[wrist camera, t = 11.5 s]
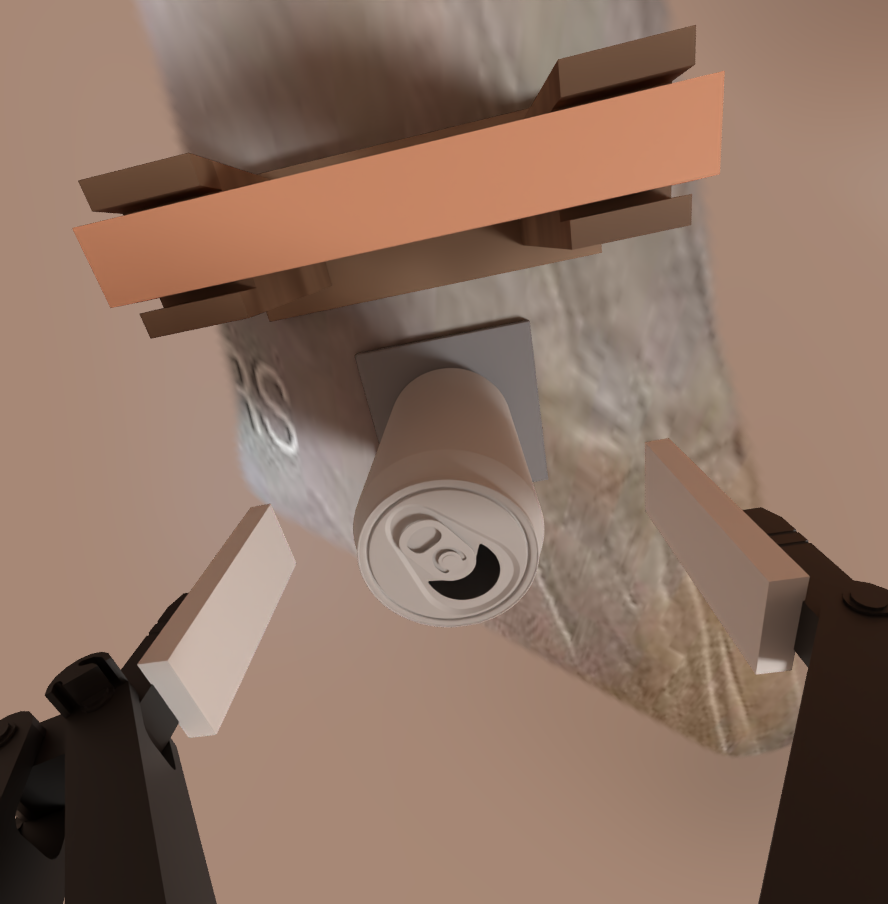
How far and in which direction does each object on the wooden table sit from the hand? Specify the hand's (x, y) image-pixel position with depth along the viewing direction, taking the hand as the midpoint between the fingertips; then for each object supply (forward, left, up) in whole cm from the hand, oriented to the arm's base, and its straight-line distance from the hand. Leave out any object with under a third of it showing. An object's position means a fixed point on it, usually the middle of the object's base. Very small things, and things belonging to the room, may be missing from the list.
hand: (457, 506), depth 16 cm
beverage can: (0, 0, -10) cm, 10 cm away
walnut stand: (-10, 0, -10) cm, 14 cm away
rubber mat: (0, 0, -10) cm, 10 cm away
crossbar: (-10, 0, -1) cm, 10 cm away
